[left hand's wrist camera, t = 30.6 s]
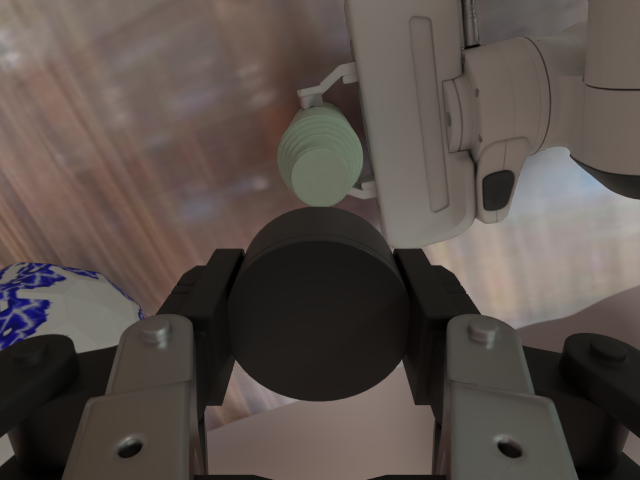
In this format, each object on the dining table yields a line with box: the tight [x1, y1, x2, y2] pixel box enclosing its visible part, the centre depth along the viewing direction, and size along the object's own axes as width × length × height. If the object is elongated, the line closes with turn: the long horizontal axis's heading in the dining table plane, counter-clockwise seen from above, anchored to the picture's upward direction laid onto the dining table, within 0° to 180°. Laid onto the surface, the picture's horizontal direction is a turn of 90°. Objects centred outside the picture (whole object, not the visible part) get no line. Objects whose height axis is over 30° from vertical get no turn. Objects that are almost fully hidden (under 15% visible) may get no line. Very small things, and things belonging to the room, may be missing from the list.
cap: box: [227, 207, 411, 401], centre depth 11 cm, size 4×4×2 cm
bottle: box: [277, 102, 363, 207], centre depth 30 cm, size 5×5×19 cm
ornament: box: [0, 262, 144, 466], centre depth 38 cm, size 20×20×20 cm
